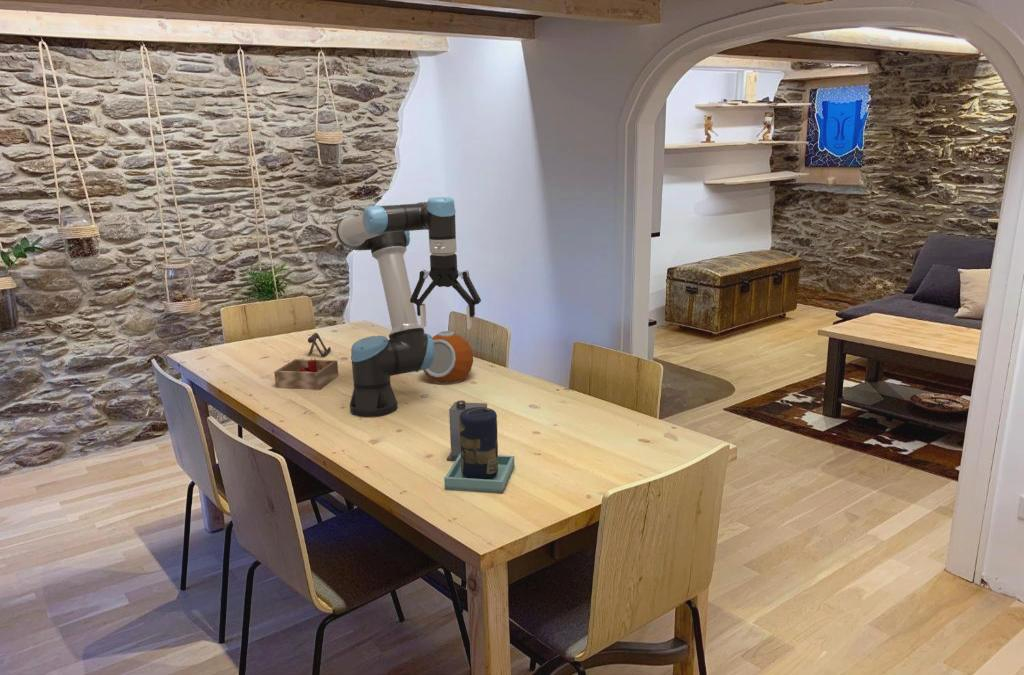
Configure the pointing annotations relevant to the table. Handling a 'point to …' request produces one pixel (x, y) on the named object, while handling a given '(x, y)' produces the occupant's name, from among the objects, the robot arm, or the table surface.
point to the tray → (493, 484)
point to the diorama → (310, 367)
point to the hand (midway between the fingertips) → (446, 327)
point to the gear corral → (306, 375)
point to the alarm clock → (450, 358)
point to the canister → (478, 443)
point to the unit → (458, 426)
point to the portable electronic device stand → (313, 341)
